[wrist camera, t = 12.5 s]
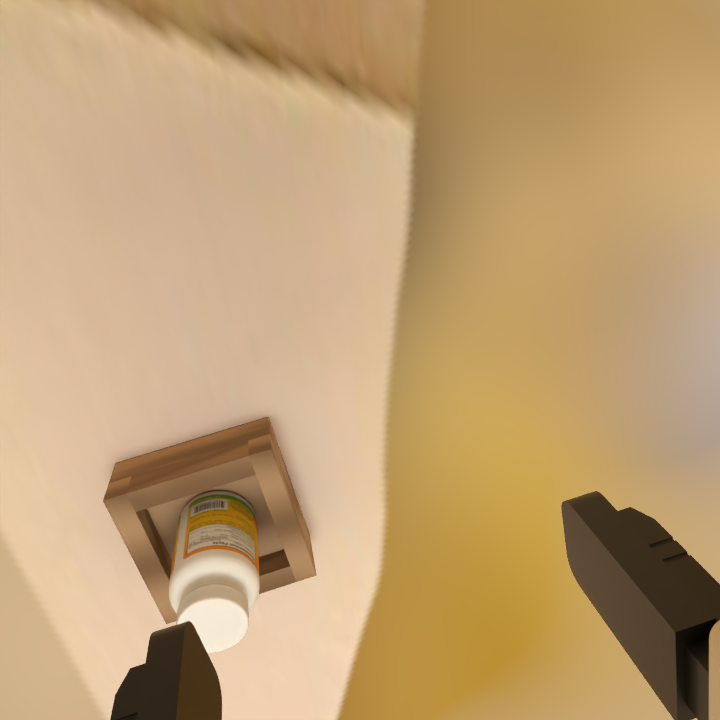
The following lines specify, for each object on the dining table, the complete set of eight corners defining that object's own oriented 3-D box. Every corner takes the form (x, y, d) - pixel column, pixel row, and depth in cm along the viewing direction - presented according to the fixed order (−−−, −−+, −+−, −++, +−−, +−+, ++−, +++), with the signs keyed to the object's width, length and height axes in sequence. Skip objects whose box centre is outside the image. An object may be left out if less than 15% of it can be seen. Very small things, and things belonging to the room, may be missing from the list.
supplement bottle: (224, 564, 45) (221, 676, 36) (162, 529, 43) (142, 639, 34) (272, 513, 44) (280, 615, 35) (210, 475, 42) (203, 573, 33)
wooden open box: (115, 463, 43) (103, 500, 39) (268, 416, 44) (271, 448, 40) (172, 579, 48) (166, 623, 44) (309, 535, 49) (316, 575, 44)
